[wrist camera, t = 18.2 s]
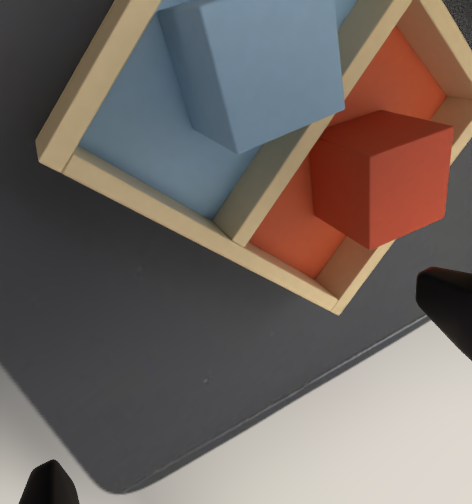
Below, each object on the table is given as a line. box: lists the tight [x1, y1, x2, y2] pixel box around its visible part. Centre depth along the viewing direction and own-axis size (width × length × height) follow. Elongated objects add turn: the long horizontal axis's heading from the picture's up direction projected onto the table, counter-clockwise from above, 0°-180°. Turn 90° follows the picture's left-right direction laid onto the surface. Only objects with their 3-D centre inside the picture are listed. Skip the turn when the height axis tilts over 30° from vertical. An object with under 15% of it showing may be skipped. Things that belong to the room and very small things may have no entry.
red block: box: [309, 110, 454, 250], centre depth 20 cm, size 4×4×4 cm
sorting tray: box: [35, 0, 472, 315], centre depth 19 cm, size 14×17×3 cm
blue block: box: [157, 0, 345, 154], centre depth 15 cm, size 4×4×4 cm
